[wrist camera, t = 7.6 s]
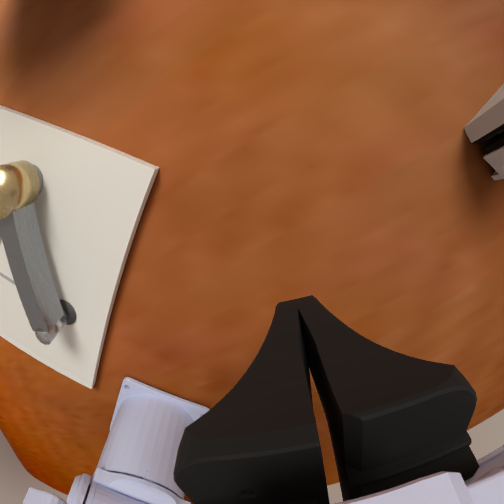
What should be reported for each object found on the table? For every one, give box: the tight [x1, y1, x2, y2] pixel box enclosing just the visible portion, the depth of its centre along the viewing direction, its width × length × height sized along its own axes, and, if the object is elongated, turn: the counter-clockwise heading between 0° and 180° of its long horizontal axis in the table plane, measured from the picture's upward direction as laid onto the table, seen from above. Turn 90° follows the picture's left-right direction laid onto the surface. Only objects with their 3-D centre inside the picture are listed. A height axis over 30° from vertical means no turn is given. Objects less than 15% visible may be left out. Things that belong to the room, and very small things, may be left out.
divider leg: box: [0, 160, 68, 345], centre depth 17 cm, size 12×3×3 cm, turn 4°
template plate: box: [0, 105, 159, 389], centre depth 19 cm, size 20×17×2 cm
